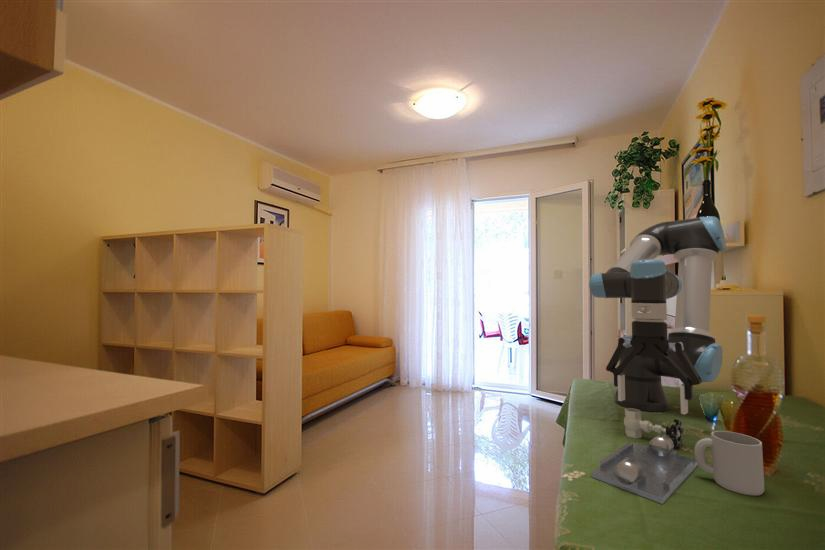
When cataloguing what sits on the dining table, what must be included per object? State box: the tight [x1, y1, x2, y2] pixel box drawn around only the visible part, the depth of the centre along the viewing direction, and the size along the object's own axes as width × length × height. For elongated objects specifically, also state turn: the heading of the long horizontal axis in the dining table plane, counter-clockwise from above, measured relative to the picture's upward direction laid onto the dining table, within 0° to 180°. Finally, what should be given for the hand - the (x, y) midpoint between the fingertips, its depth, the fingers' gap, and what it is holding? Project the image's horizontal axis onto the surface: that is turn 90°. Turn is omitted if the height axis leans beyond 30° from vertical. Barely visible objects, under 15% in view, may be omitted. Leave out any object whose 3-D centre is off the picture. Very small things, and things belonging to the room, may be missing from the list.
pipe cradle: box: [590, 433, 699, 505], centre depth 74 cm, size 23×12×5 cm, turn 130°
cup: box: [693, 430, 765, 497], centre depth 69 cm, size 7×10×9 cm
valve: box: [623, 407, 684, 449], centre depth 90 cm, size 7×7×12 cm
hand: (651, 406), depth 90 cm, fingers open, 13 cm apart
